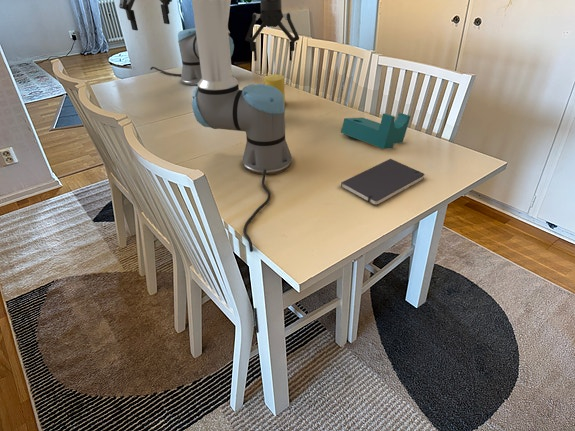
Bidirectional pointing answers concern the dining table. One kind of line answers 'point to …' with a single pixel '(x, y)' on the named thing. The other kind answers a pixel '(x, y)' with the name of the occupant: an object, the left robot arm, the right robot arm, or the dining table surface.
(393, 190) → the notebook
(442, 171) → the dining table surface
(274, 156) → the right robot arm
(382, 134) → the teal l-shaped bracket
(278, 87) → the can
